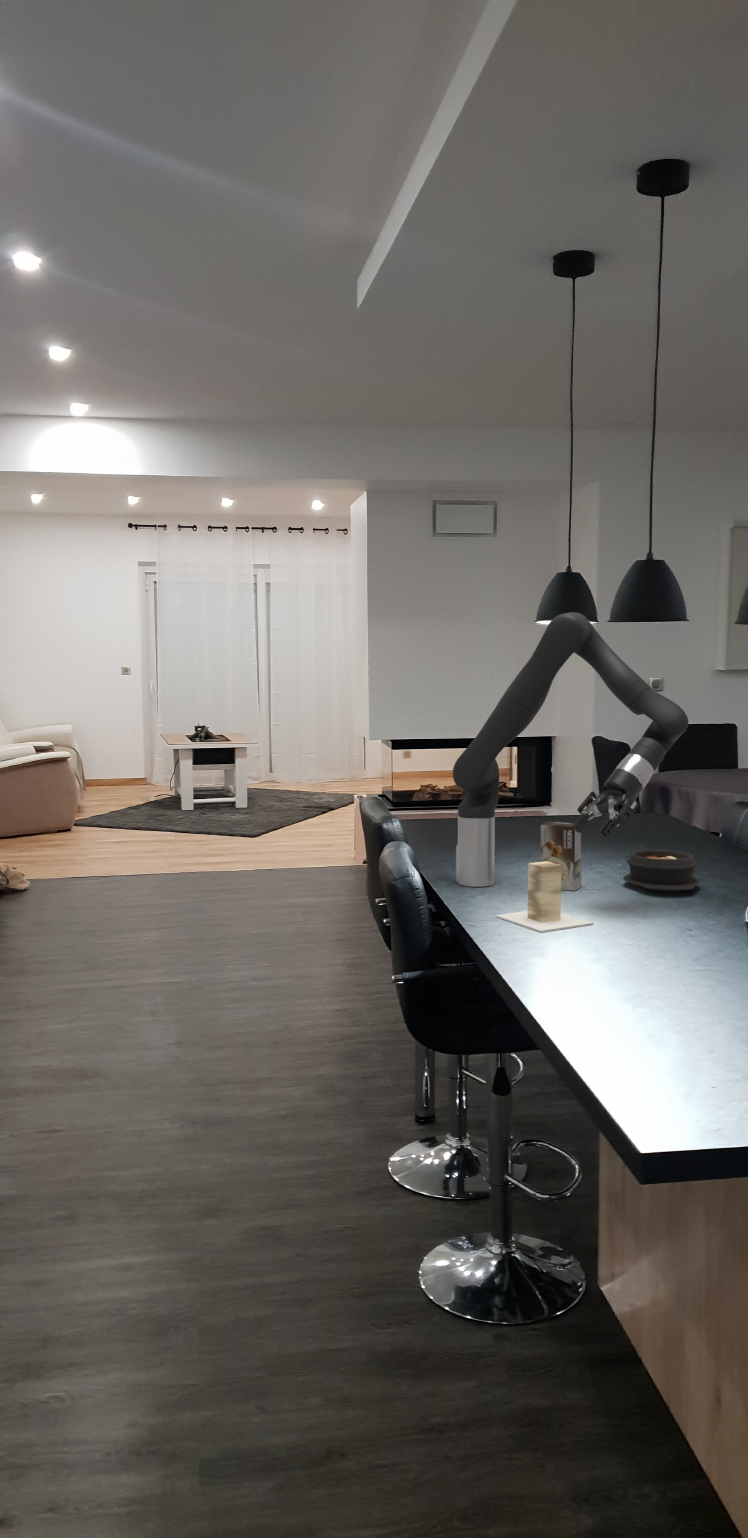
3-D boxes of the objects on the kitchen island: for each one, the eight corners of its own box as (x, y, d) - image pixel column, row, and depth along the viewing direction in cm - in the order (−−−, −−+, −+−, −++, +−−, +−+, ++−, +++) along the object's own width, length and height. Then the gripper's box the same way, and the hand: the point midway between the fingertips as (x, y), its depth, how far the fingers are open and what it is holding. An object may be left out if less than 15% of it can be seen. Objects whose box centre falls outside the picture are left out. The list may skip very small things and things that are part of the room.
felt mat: (495, 917, 233) (495, 915, 233) (546, 909, 240) (546, 908, 240) (541, 932, 219) (541, 930, 219) (593, 924, 226) (593, 922, 226)
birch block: (527, 917, 231) (528, 863, 230) (545, 915, 233) (546, 861, 232) (541, 922, 226) (542, 867, 225) (560, 919, 229) (561, 864, 228)
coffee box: (582, 886, 266) (583, 823, 264) (574, 891, 260) (576, 826, 258) (547, 883, 270) (548, 820, 268) (539, 888, 264) (539, 824, 263)
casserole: (711, 898, 252) (712, 863, 251) (631, 897, 253) (632, 862, 253) (687, 878, 277) (688, 846, 276) (615, 877, 278) (616, 845, 278)
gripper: (599, 764, 243) (558, 818, 239) (643, 770, 231) (601, 826, 226) (616, 786, 246) (576, 839, 242) (660, 793, 234) (619, 848, 229)
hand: (588, 833), depth 234 cm, fingers open, 8 cm apart
